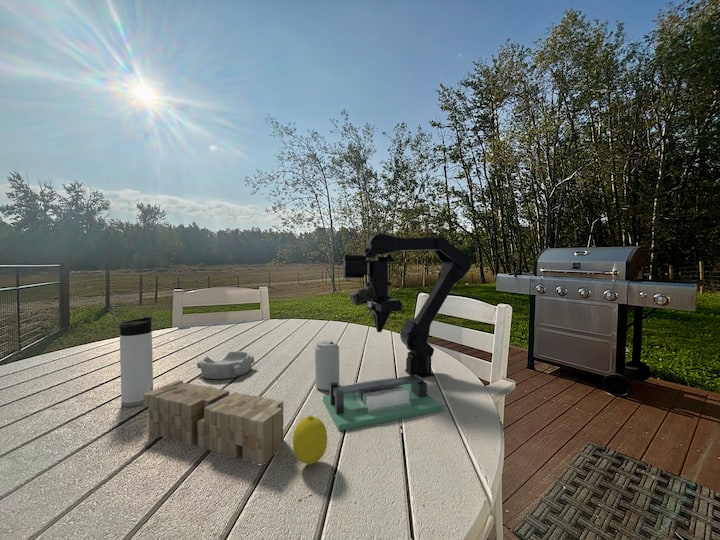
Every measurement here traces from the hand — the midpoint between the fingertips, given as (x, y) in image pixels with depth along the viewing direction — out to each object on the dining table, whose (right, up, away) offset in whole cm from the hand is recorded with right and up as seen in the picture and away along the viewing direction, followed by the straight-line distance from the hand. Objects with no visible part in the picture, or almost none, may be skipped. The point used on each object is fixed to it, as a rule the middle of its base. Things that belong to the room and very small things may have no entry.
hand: (379, 332), depth 89 cm
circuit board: (-1, -13, -18) cm, 23 cm away
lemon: (-14, -14, -39) cm, 43 cm away
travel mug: (-59, -14, -14) cm, 63 cm away
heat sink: (-1, -12, -18) cm, 22 cm away
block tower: (-33, -14, -30) cm, 47 cm away
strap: (-1, -9, -18) cm, 21 cm away
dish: (-46, -14, +5) cm, 48 cm away
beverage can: (-14, -14, -7) cm, 21 cm away
